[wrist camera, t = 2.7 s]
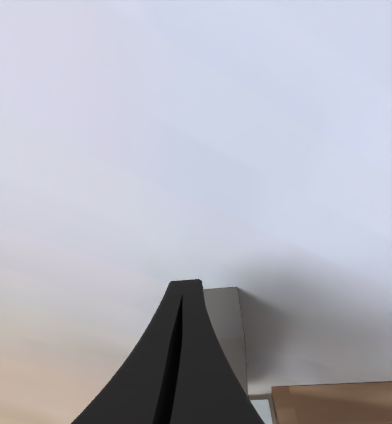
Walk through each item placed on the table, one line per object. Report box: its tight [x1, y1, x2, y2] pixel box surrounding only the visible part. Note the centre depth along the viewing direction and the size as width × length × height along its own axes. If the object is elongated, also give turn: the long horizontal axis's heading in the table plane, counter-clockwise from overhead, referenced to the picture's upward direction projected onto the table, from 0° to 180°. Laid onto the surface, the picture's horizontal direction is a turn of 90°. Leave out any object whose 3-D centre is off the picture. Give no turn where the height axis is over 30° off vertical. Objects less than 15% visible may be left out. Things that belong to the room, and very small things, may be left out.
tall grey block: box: [203, 287, 248, 397], centre depth 20 cm, size 10×5×4 cm, turn 7°
